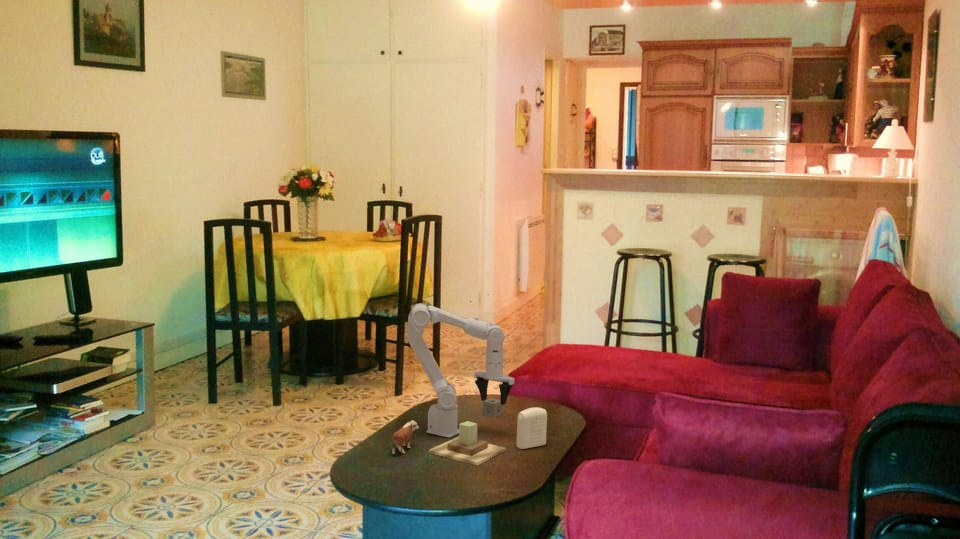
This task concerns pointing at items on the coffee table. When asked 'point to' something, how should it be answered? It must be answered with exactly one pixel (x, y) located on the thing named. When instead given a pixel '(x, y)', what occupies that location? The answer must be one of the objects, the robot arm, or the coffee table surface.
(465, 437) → the sage block
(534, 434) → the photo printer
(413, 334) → the robot arm
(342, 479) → the coffee table surface
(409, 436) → the bull figurine
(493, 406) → the dice cube
